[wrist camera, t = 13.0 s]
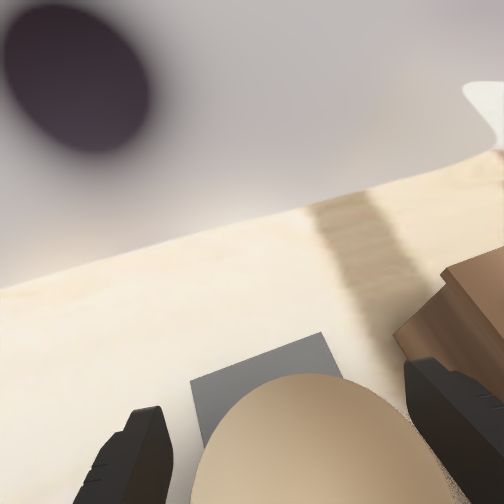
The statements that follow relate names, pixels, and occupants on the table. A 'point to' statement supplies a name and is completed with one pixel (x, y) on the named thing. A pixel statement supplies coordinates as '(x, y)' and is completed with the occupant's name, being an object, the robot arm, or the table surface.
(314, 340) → the rubber mat
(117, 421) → the table surface
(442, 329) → the wooden box
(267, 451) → the wooden cylinder
